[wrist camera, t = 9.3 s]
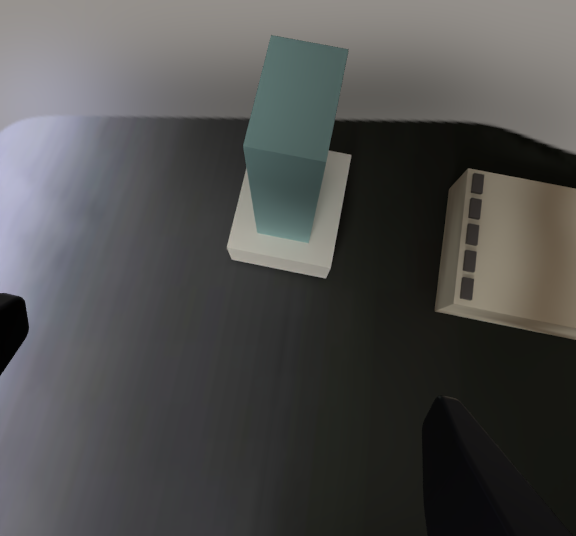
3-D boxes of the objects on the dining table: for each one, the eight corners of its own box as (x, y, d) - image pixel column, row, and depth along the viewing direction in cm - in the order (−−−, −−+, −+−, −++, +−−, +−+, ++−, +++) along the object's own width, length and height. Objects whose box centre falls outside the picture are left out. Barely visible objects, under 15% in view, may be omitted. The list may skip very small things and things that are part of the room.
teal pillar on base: (344, 174, 24) (392, 30, 14) (325, 278, 22) (362, 201, 12) (256, 157, 24) (239, 2, 14) (231, 259, 22) (193, 168, 12)
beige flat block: (628, 223, 23) (672, 204, 21) (627, 350, 22) (675, 347, 19) (448, 189, 24) (470, 166, 21) (434, 311, 22) (455, 302, 19)
